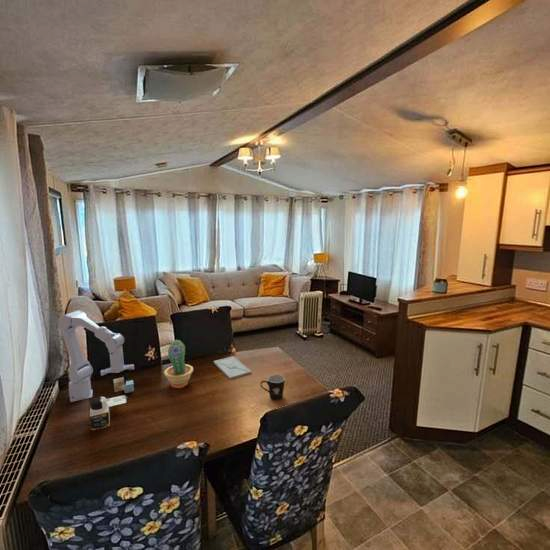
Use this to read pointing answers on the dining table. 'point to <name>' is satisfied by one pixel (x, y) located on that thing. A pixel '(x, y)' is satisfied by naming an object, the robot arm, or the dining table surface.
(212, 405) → the dining table surface
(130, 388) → the slate cube
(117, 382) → the oak block
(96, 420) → the medicine bottle
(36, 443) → the dining table surface
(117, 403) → the letter
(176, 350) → the potted cactus
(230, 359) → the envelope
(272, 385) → the coffee mug
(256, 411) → the dining table surface
